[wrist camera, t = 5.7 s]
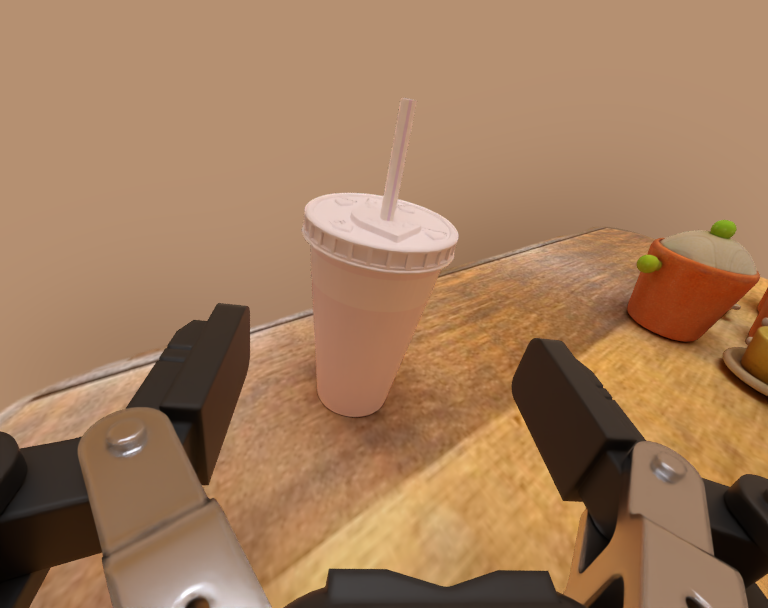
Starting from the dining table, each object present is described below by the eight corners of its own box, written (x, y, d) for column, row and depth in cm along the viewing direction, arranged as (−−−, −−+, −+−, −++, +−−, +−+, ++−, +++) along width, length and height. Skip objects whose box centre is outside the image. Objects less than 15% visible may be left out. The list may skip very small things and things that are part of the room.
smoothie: (290, 443, 17) (317, 87, 10) (290, 351, 22) (308, 74, 15) (425, 435, 19) (531, 127, 12) (395, 352, 24) (455, 103, 17)
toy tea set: (839, 448, 24) (994, 319, 19) (593, 319, 33) (654, 209, 28) (834, 331, 40) (915, 246, 35) (672, 267, 49) (719, 193, 44)
